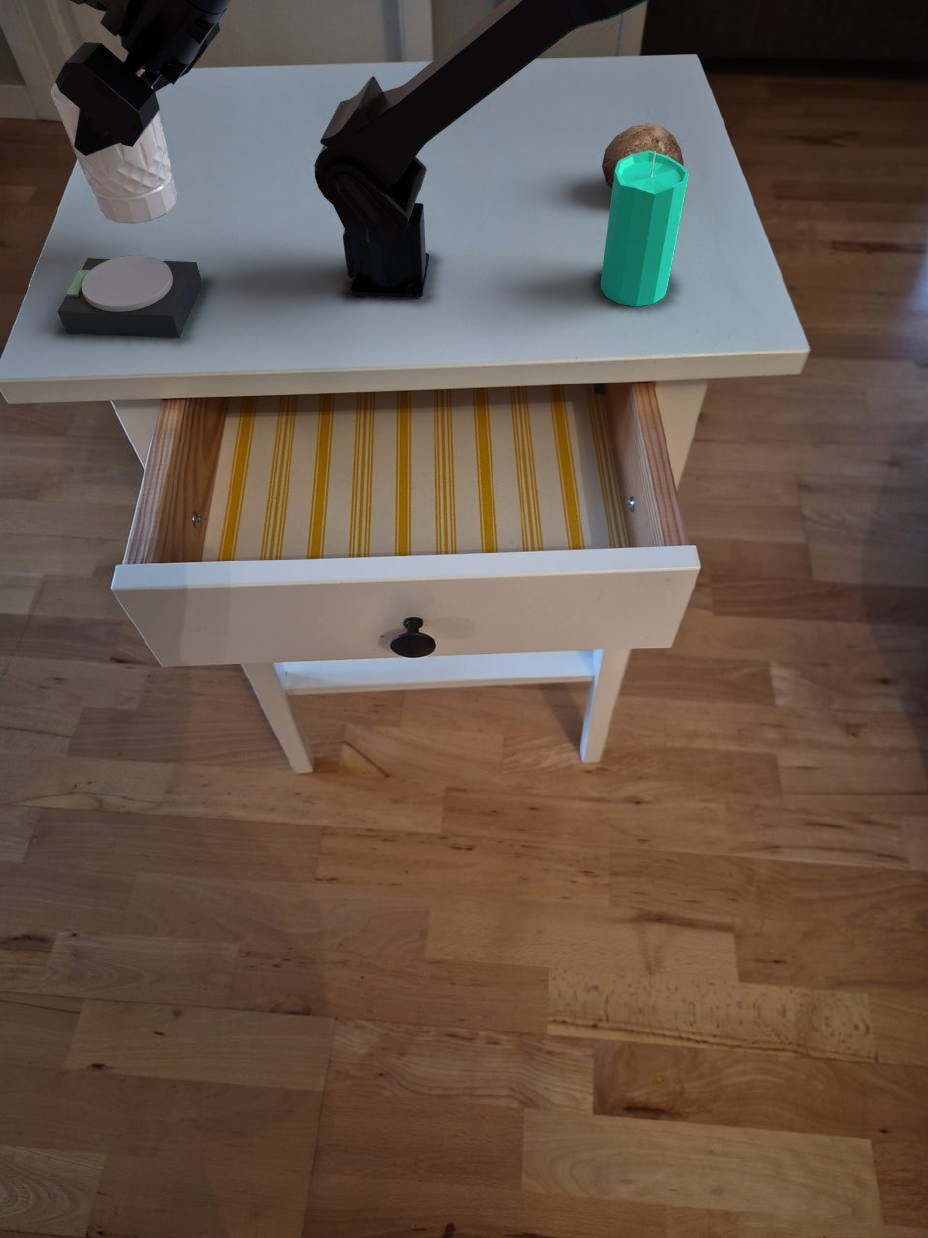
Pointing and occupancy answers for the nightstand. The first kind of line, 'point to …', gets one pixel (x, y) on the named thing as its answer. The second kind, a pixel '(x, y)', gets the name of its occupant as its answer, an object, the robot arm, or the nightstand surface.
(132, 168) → the white cup
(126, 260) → the scale
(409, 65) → the nightstand surface
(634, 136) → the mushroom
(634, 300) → the candle
